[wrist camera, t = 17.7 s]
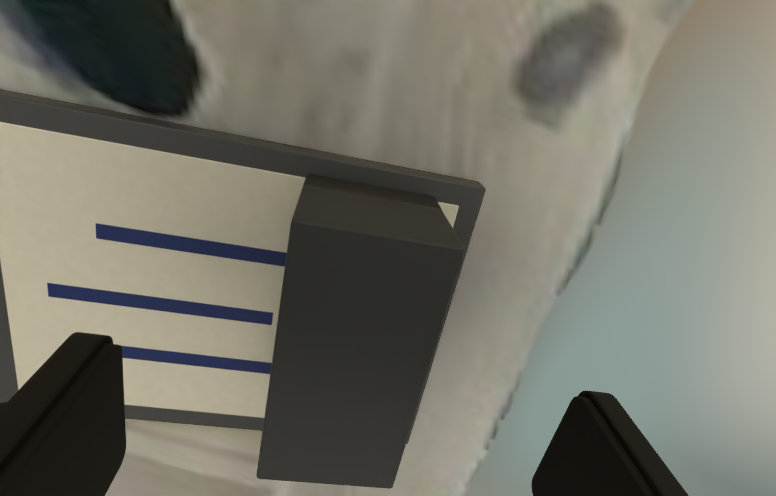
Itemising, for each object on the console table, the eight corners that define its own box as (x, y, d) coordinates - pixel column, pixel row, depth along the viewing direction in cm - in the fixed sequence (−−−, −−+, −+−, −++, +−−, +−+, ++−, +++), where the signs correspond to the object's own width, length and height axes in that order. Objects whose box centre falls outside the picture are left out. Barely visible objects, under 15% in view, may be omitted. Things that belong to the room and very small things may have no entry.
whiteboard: (-31, 82, 12) (-56, 84, 11) (479, 181, 15) (487, 188, 14) (14, 391, 16) (-3, 408, 16) (405, 429, 19) (408, 445, 18)
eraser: (306, 172, 13) (291, 219, 9) (435, 197, 14) (466, 248, 10) (276, 383, 16) (255, 480, 13) (382, 395, 17) (392, 490, 13)
